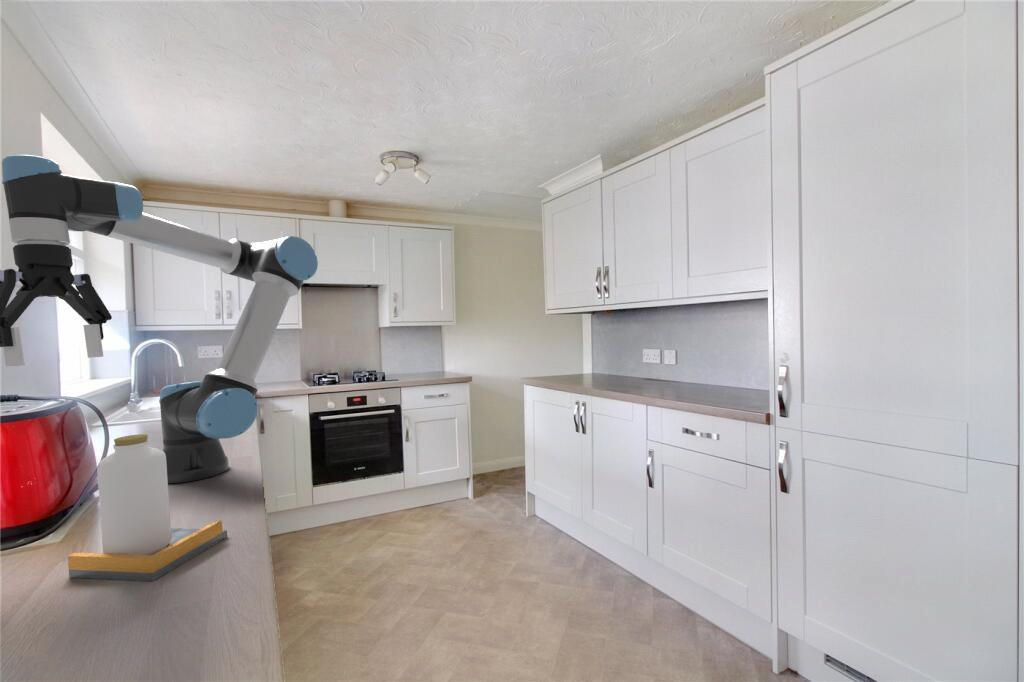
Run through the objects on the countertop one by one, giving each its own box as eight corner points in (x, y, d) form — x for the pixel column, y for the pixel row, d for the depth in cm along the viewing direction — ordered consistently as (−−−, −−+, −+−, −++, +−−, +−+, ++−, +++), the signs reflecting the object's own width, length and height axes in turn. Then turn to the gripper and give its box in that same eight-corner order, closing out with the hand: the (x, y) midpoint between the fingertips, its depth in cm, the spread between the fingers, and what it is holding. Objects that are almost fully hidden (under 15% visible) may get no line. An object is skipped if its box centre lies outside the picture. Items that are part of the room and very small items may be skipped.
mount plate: (155, 534, 82) (154, 516, 82) (227, 536, 80) (226, 518, 80) (69, 577, 68) (67, 555, 68) (153, 581, 66) (151, 559, 66)
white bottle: (183, 544, 75) (176, 432, 74) (122, 570, 67) (113, 445, 67) (153, 536, 78) (146, 429, 78) (92, 560, 71) (83, 441, 70)
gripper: (93, 254, 98) (107, 355, 100) (-68, 237, 73) (-47, 371, 75) (125, 251, 97) (138, 353, 99) (-28, 233, 72) (-7, 369, 74)
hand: (58, 361), depth 87 cm, fingers open, 13 cm apart
